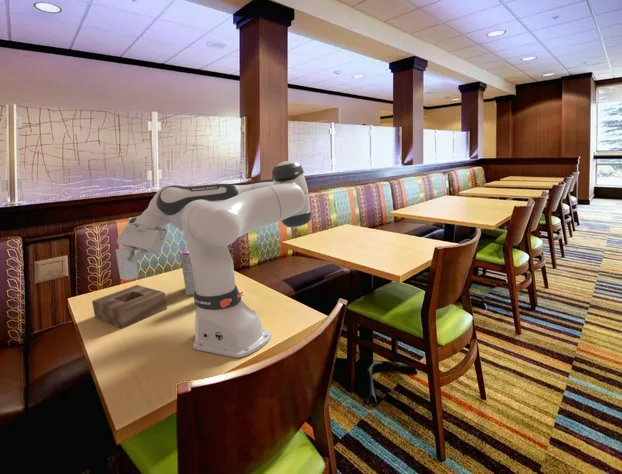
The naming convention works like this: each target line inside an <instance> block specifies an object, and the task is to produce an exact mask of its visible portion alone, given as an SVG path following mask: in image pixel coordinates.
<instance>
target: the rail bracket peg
mask: <svg viewBox="0 0 622 474" xmlns="http://www.w3.org/2000/svg"><path fill="white" fill-rule="evenodd" d="M135 251H136V250H134V248H131V247H121V248H116V249H115V255H116V261H117V266H118V273H119V278H120V280H124V281H129V280H134V279H135V278H138V277H139V272H138V265H137V262H136V263H134V262H131V261H130V258H131V257H132V256H134V255H135V254H136V252H135Z"/></svg>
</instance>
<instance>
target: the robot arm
mask: <svg viewBox="0 0 622 474" xmlns="http://www.w3.org/2000/svg"><path fill="white" fill-rule="evenodd" d="M271 171H272V172H271V177H272V180H273V181H264V182H257V183H251V184H241V185H239V184H231V183H211V184H202V185H201V184H200V185H191V186H189V185H188V186H184V185H176V184H174V185H169V184H168V185H167V184H166V185H165V186H162V187H161V188H160V189H158V191H157V192H156V193H155V194H154V196H153V198H151V200H150V202H149V204H148V207H147V208H146V209H144V211H143V212H142V213H141V215H138V216H135V217H132V218H129V220H128V221H127V225H126V226H125V227H123V230H122V231H121V233H120V234H119V236H118V237H117V240H116V244H118V245H119V246H120V247H121V248H124V247H131V248H134V251H137V252H135V255H134V256H132V257H131V258H130V261H131V262H134V263H136V264H137V263H138V261H139V259H141V258H142V257H144V256H145V254H146V253H147V254H153V255H157V254H158V253H159V252H160V251H161V249H162V248H163V245H164V244H165V242H166V237H167V234H168V231H167V228H166V227H167V225H168V224H171V225H172V226H173V227H175V228H177V229H179V230H182V231H183V235H184V239H185V240H184V241H185V243H186V249H188V252H189V255H190V259H191V263H192V269H193V277H194V285H195V291H194V295H193V300H194V305H195V306H196V313H195V316H194V333H195V334H194V342H193V345H192V347H193V349H194V350H197V351H202V352H206V353H212V354H217V355H222V356H226V357H232V358H235V359H236V358H239V359H240V358H243V357H247V356H249V355H251V354H253V353H254V352H257V351H258V350H259V349H261V348H262V347H264V346H265V345H266V344H268V342H269V341H270V340H271V337H272V333H271V331H269V330H267V329H265V328H264V327H263V326H262V320H261V318H260V316H259V315H257V313H256V311H255V309H251V308H250V307H249V306H248V305H247V304H246V303H245V302H244V301H243V300H242V297H243V296H244V292H243V291H241V292H240V291H239V288H238V286H237V285H236V279H235V278H236V277H235V269H234V268H235V266H234V260H233V258H232V255H231V253H230V250H229V248H228V246H230V245H232V244H233V243H234V242H236V241H237V240H238V238H240V237H242V236H244V235H245V234H248V233H249V232H251V231H253V230H256V229H259V228H262V227H266V226H269V225H273V224H275V223H278V222H281V223H282V225H284V226H285V227H287V228H294V229H295V228H301V227H304V225H306V224H309V222H310V221H311V219H312V210H311V206H310V205H311V203H310V194H309V188H308V184H307V181H306V177H305V175H304V172H305V171H304V168H303V166H302V164H301V163H299V162H298V161H293V160H286V161H282V162H280V163H278V164H276V166H274V167H273V168H272V170H271Z"/></svg>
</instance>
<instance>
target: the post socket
mask: <svg viewBox="0 0 622 474" xmlns="http://www.w3.org/2000/svg"><path fill="white" fill-rule="evenodd" d="M166 298H167V297H166V292H164V291H160V290H156V289H153V288H149V287H146V286H143V285H139V284H136V285H133V286H130V287H127V288H124V289H122V290H119V291H116V292H113V293H110V294H107V295H105V296H102V297H101V296H100V297H99V298H96V299H93V300H91V302H92V308H93V313H94V314H93V315H94V318H95V319H98V320H100V321H103V322H105V323H108V324H111V325H112V326H116V327H118V328H120V329H125V328H128V327H130V326H132V325H134V324H136V323H139V322H140V321H143V320H145V319H148V318H150V317H152V316H154V315H157V314H159V313H161V312H163V311H165V310H167V309H168V307H167V306H168V305H167V299H166Z"/></svg>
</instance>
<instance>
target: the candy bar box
mask: <svg viewBox="0 0 622 474" xmlns="http://www.w3.org/2000/svg"><path fill="white" fill-rule="evenodd" d="M180 259H181V260H180V261H181V269H182V274H183V282H184V289H185V295H186V296H194V291H195V285H194V277H193V269H192V263H191V259H190V255H189V252H188V248H186V249H185V250H184V251H182V252H181V253H180Z"/></svg>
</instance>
